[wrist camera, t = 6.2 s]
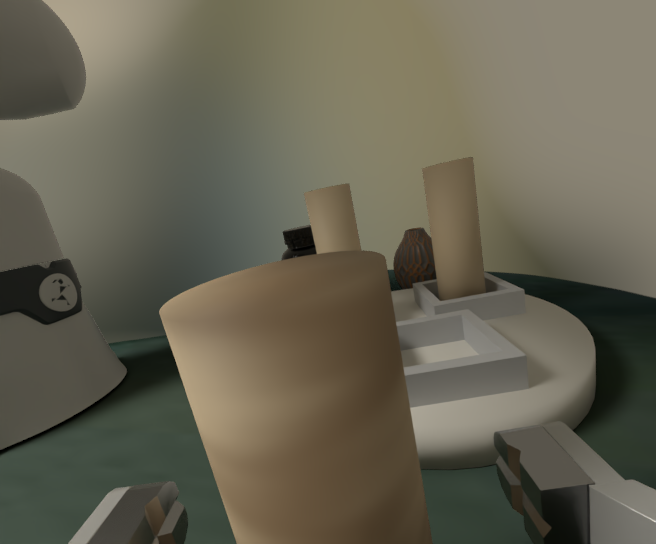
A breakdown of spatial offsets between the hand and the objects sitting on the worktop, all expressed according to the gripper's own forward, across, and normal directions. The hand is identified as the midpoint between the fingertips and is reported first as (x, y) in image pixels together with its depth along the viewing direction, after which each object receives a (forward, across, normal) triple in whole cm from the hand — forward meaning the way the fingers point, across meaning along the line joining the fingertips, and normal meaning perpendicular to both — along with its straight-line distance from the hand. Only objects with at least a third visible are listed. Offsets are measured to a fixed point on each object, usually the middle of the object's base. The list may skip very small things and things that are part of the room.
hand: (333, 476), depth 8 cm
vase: (+35, -11, +8) cm, 38 cm away
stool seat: (+18, -6, +8) cm, 21 cm away
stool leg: (-1, 0, +8) cm, 8 cm away
